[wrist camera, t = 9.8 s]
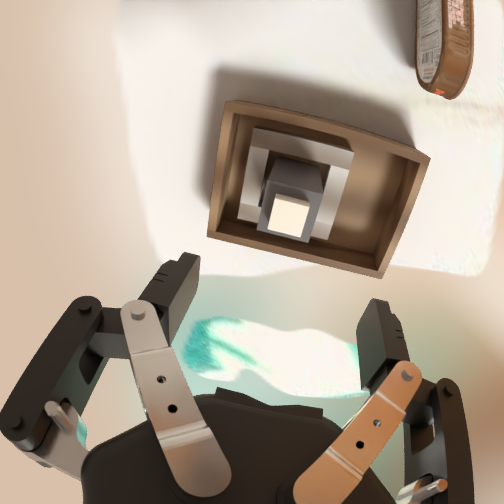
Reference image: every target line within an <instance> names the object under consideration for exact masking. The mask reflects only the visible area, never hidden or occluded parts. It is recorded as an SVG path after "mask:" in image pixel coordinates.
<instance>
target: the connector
mask: <svg viewBox="0 0 504 504" xmlns="http://www.w3.org/2000/svg"><path fill="white" fill-rule="evenodd" d="M322 198H323V188H322V181H321V174H320V168H319V166H317V165H313V164H310V163H306V162H302V161H298V160H294V159H290V158H286V157H282V156H277V159H276V161H275V163H274V166H273V168H272V171H271V173H270V175H269V178H268V180H267V185H266V189H265V194H264V198H263V203H262V207H261V212H260V216H259V221H258V225H257V230H259V231H263V232H267V233H271V234H275V235H279V236H283V237H287V238H291V239H295V240H299V241H302V242H306V243H308V242H309V239H310V236H311V233H312V230H313V227H314V224H315V220H316V217H317V214H318V211H319V207H320V204H321V201H322Z"/></svg>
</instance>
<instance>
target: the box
mask: <svg viewBox="0 0 504 504" xmlns="http://www.w3.org/2000/svg"><path fill="white" fill-rule="evenodd" d="M277 156H282V157H286V158H290V159H294V160H298V161H302V162H306V163H310V164H313V165H317V166H319V168H320V174H321V181H322V188H323V198H322V201H321V204H320V207H319V211H318V214H317V217H316V220H315V224H314V227H313V230H312V233H311V236H310V239H309V242H308V243H306V242H302V241H299V240H295V239H291V238H287V237H283V236H279V235H275V234H271V233H267V232H263V231H259V230H257V225H258V221H259V216H260V212H261V207H262V203H263V198H264V194H265V189H266V185H267V180H268V178H269V175H270V173H271V171H272V168H273V166H274V163H275V161H276V159H277ZM430 159H431V158H430V157H428V156H427V155H425V154H424V153H422V152H420V151H419V150H417V149H416V148H413V147H410V146H408V145H405V144H403V143H400V142H397V141H394V140H392V139H389V138H386V137H383V136H380V135H377V134H374V133H371V132H368V131H365V130H362V129H358V128H355V127H352V126H349V125H345V124H342V123H338V122H335V121H331V120H327V119H323V118H320V117H316V116H312V115H308V114H304V113H299V112H295V111H291V110H286V109H281V108H277V107H272V106H267V105H261V104H256V103H250V102H244V101H238V100H234V101H228V102H225V107H224V113H223V119H222V125H221V132H220V138H219V145H218V152H217V159H216V166H215V173H214V181H213V188H212V196H211V204H210V212H209V221H208V230H207V237H209V238H214V239H218V240H222V241H226V242H230V243H234V244H239V245H243V246H247V247H251V248H255V249H259V250H263V251H268V252H272V253H276V254H280V255H284V256H288V257H292V258H296V259H301V260H305V261H309V262H313V263H317V264H321V265H325V266H329V267H333V268H338V269H342V270H346V271H350V272H354V273H358V274H362V275H366V276H370V277H374V278H378V279H382V277H383V275H384V273H385V271H386V269H387V267H388V265H389V263H390V260H391V258H392V256H393V254H394V252H395V249H396V247H397V245H398V243H399V240H400V238H401V236H402V233H403V231H404V229H405V226H406V224H407V221H408V219H409V216H410V214H411V211H412V209H413V206H414V204H415V201H416V199H417V196H418V193H419V191H420V188H421V185H422V182H423V179H424V177H425V174H426V171H427V168H428V165H429V162H430Z"/></svg>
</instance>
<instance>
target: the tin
mask: <svg viewBox="0 0 504 504" xmlns="http://www.w3.org/2000/svg"><path fill="white" fill-rule="evenodd" d="M473 53H474V11H473V0H416V44H415V68H416V75H417V79H418V82H419V84H420V86H421V87H422V88H423V89H425V90H426V91H428V92H431V93H434V94H437V95H440V96H443V97H444V98H446V99H449V100H451V99H454V98H456V97H457V96H458V95H459V94H460V93H461V92H462V91H463V89H464V88H465V86H466V84H467V81H468V78H469V76H470V72H471V69H472V63H473Z"/></svg>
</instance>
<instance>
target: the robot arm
mask: <svg viewBox="0 0 504 504" xmlns="http://www.w3.org/2000/svg"><path fill="white" fill-rule="evenodd" d="M199 269H200V256H199V255H195V254H191V253H187V252H184V253H183V254H182V255H181V257H180V258H179V260H178V261H174V260H169V261H168V262H166V263H164V264H163V265H162V266H161V267H160V269H159V270H158V271H157V273H156V274H155V276H154V277H153V279H152V280H151V281H150V282H149V284H148V285H147V287H146V288H145V289H144V291H143V292H142V294H141V295H140V297H139V298H138V300H133V301H130V302H128V303H126V304H125V305H124V306H123V307H122V308H106V307H102V305H101V302H100V301H99V300H98V299H97V298H95V297H92V296H82V297H79V298H77V299H75V300H74V301H73V302H72V303H71V304H70V306H69V307H68V308H67V310H66V311H65V313H64V314H63V315H62V317H61V318H60V319H59V321H58V322H57V324H56V325H55V326H54V328H53V329H52V330H51V332H50V333H49V335H48V336H47V338H46V339H45V341H44V342H43V343H42V345H41V346H40V348H39V349H38V351H37V353H36V354H35V355H34V357H33V359H32V360H31V362H30V363H29V365H28V366H27V368H26V369H25V371H24V373H23V374H22V376H21V377H20V379H19V381H18V382H17V384H16V386H15V387H14V389H13V391H12V392H11V394H10V396H9V398H8V399H7V401H6V403H5V405H4V407H3V409H2V410H1V412H0V430H1V432H2V434H3V435H4V436H5V437H6V438H7V439H8V440H9V441H11V442H12V443H13V444H14V445H15V446H16V447H17V448H18V449H19V450H20V451H22V452H23V453H24V454H26V455H27V456H28V457H29V458H31V459H32V460H34V461H36V462H38V463H39V464H40V465H42V466H44V467H49V468H51V467H54V468H56V469H58V470H59V471H61V472H63V473H65V474H67V475H69V476H71V477H73V478H75V479H77V480H79V481H81V483H82V489H83V504H475V503H474V482H473V471H472V460H471V451H470V444H469V437H468V430H467V425H466V419H465V413H464V409H463V403H462V399H461V394H460V390H459V388H458V386H457V385H456V383H454V382H453V381H452V380H450V379H448V378H443V379H440V380H439V381H438V382H437V383H436V384H435V383H432V382H430V381H428V380H425V379H423V378H422V374H421V371H420V370H419V368H418V367H417V366H416V365H415V364H413V363H412V362H410V359H409V354H408V350H407V346H406V342H405V340H404V334H403V332H402V331H403V330H402V326H401V323H400V321H399V320H398V318H397V317H396V315H395V314H392V313H391V311H390V307H389V304H388V302H387V301H383V300H379V299H374V298H373V299H371V300H370V302H369V304H368V306H367V308H366V310H365V312H364V313H363V315H362V317H361V319H360V321H359V323H358V326H357V330H356V336H357V346H358V356H359V367H360V380H361V390H363V391H370V396H369V397H368V399H367V400H366V401H365V402H364V403H363V405H362V406H361V407H360V408H359V409H358V411H357V412H356V413H355V414H354V416H352V417H351V419H350V420H349V421H348V422H347V423H346V424H345V425H344V426H343V427H342V428H340V427H339V426H338V425H336V423H334V422H333V421H331V420H329V419H327V418H325V417H323V409H321V408H314V407H308V406H302V405H283V406H270V405H267V404H265V403H263V402H260V401H258V400H256V399H254V398H252V397H250V396H247V395H245V394H243V393H239V392H235V391H231V390H227V389H223V388H219V387H217V389H216V393H215V394H201V395H196V396H192V393H191V391H190V389H189V386H188V384H187V382H186V379H185V377H184V375H183V372H182V370H181V367H180V365H179V363H178V360H177V358H176V355H175V352H174V350H173V348H172V347H171V346H170V345H171V343H172V341H173V339H174V337H175V335H176V333H177V331H178V329H179V326H180V324H181V322H182V320H183V318H184V316H185V314H186V312H187V310H188V308H189V306H190V304H191V302H192V300H193V298H194V296H195V294H196V291H197V287H198V281H199ZM109 358H121V359H129V360H130V364H131V368H132V371H133V375H134V378H135V382H136V385H137V388H138V392H139V395H140V398H141V402H142V405H143V408H144V411H145V414H146V417H147V421H145V422H143V423H141V424H139V425H137V426H135V427H133V428H131V429H129V430H128V431H125V432H124V433H121V434H119V435H118V436H116V437H113V438H112V439H109V440H107V441H106V442H103V443H101V444H99V445H97V446H96V447H94V448H93V449H92V450H91V451H90V452H89V451H88V450H87V449H86V444H85V443H86V437H87V428H86V425H85V423H84V422H83V420H82V419H81V415H82V413H83V411H84V408H85V406H86V404H87V402H88V400H89V398H90V396H91V394H92V391H93V390H94V388H95V386H96V384H97V381H98V380H99V378H100V376H101V373H102V371H103V370H104V368H105V366H106V364H107V362H108V360H109ZM401 421H402V422H403V425H404V452H405V484H404V487H403V488H402V489H401V491H400V492H399V494H398V497H397V499H396V501H395V500H394V499H393V497H392V496H391V495H390V493H389V492H388V491H387V489H386V488H385V487H384V486H383V484H382V483H381V481H380V480H379V479H378V477H377V476H376V475H375V473H374V472H373V471H372V469H371V468H370V465H371V464H372V463H373V461H374V460H375V459H376V457H377V456H378V455H379V453H380V452H381V451H382V449H383V448H384V446H385V445H386V444H387V442H388V440H389V439H390V438H391V436H392V435H393V433H394V432H395V430H396V429H397V427H398V426H399V424H400V423H401ZM433 423H434V427H435V438H434V437H433V426H432V424H433Z"/></svg>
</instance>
